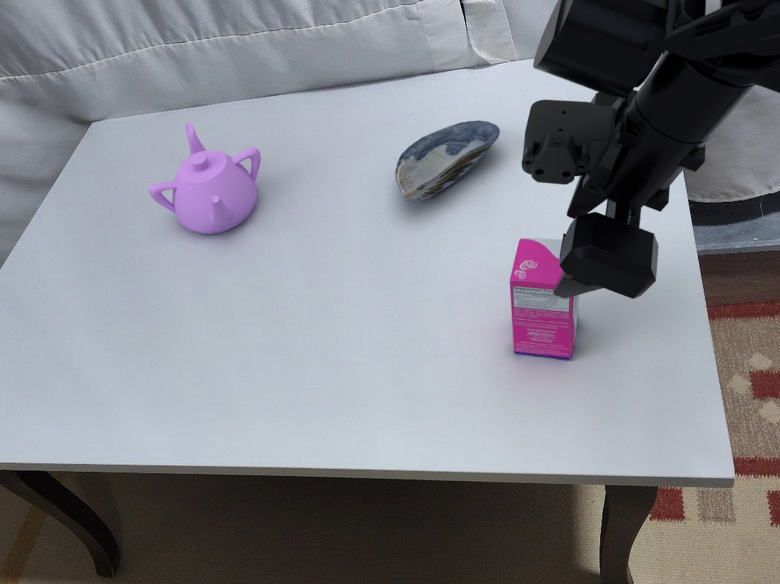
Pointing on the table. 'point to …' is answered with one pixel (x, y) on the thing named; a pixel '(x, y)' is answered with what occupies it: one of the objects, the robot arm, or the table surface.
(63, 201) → the table surface
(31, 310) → the table surface
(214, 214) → the teapot
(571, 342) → the supplement box
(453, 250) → the table surface
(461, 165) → the seashell
